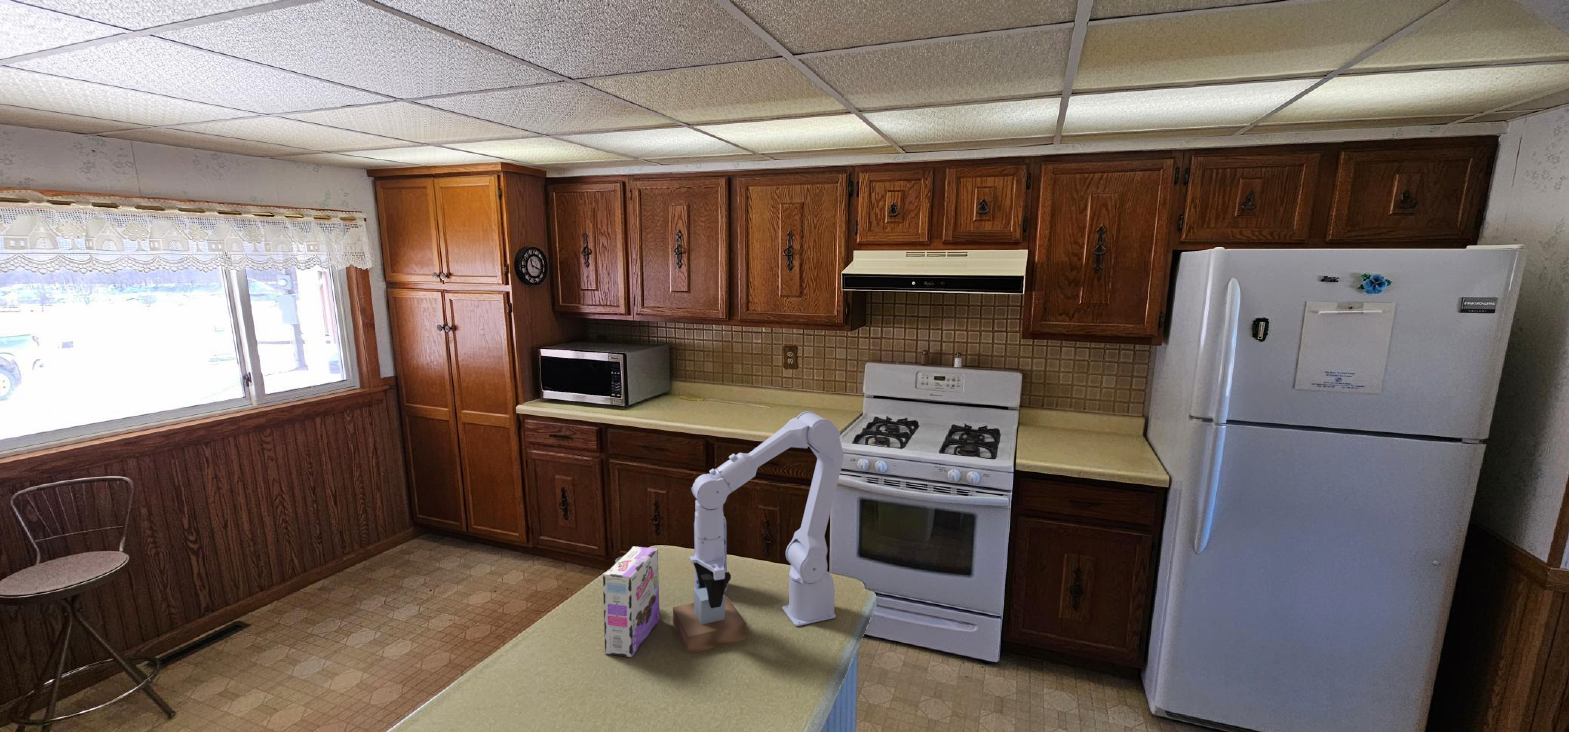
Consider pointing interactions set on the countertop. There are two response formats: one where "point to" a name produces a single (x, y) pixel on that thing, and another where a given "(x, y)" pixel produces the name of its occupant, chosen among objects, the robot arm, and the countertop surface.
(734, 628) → the walnut slab
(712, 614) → the slate cube
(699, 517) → the robot arm
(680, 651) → the countertop surface
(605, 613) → the candy box
